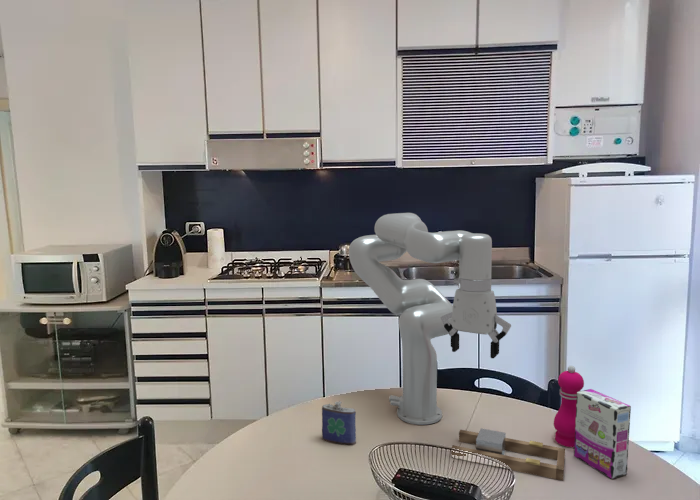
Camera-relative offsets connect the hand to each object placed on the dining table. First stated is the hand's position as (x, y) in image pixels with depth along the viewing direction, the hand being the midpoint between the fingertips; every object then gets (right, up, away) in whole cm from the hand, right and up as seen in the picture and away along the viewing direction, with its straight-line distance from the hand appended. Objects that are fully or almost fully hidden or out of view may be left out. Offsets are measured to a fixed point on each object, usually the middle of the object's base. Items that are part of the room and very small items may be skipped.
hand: (474, 353), depth 129 cm
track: (+7, -24, -3) cm, 26 cm away
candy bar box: (+28, -25, -7) cm, 38 cm away
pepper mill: (+25, -23, +4) cm, 34 cm away
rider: (+4, -24, -1) cm, 25 cm away
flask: (-33, -24, +6) cm, 42 cm away
